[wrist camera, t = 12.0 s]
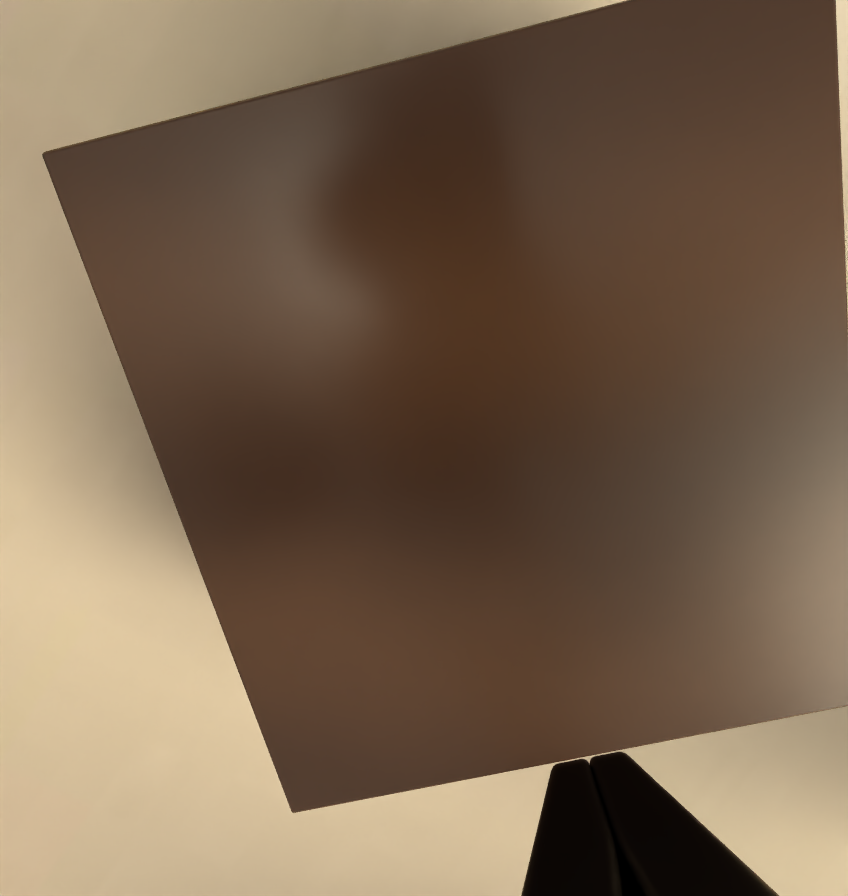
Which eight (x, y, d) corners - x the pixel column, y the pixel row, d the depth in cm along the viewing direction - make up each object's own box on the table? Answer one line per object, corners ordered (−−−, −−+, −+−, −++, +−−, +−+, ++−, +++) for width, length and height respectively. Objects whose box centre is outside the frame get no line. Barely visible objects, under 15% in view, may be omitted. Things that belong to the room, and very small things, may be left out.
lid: (65, 154, 11) (39, 152, 10) (804, -37, 10) (834, -55, 10) (297, 783, 15) (291, 814, 14) (840, 676, 14) (863, 704, 14)
